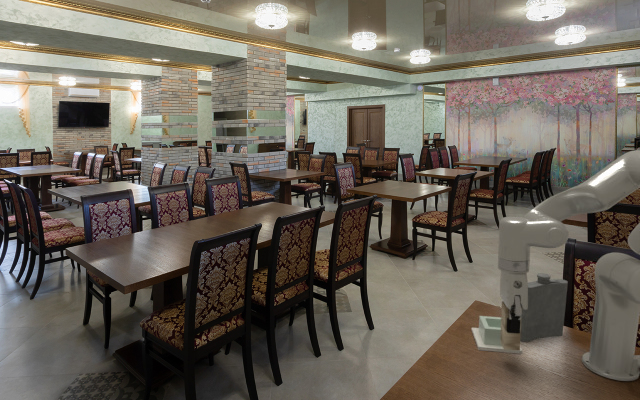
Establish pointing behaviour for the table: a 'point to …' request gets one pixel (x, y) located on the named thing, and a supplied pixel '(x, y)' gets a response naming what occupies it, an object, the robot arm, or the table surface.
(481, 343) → the socket holder
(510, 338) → the beech peg
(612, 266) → the robot arm
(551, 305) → the hip flask
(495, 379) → the table surface
